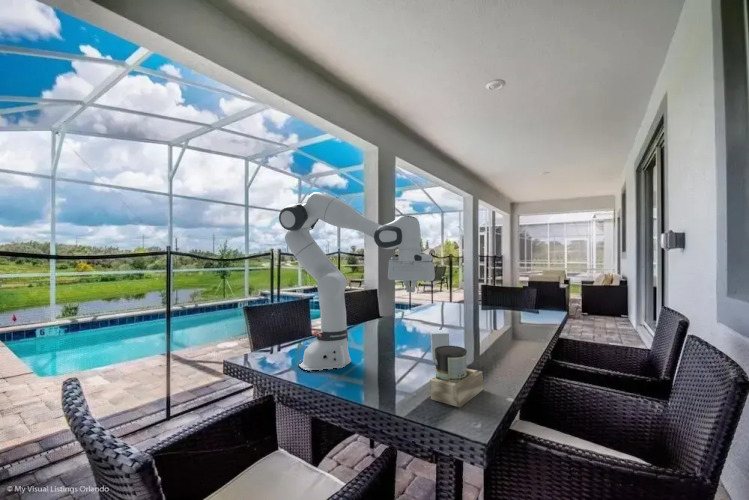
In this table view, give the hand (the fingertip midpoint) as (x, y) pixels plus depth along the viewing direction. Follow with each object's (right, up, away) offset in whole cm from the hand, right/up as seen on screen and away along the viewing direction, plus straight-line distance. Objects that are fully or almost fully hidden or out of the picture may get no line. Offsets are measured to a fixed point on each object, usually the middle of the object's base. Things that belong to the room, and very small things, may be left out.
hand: (410, 292), depth 134 cm
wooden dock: (+13, -30, -23) cm, 40 cm away
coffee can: (+11, -31, -21) cm, 39 cm away
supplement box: (+14, -31, +13) cm, 37 cm away
